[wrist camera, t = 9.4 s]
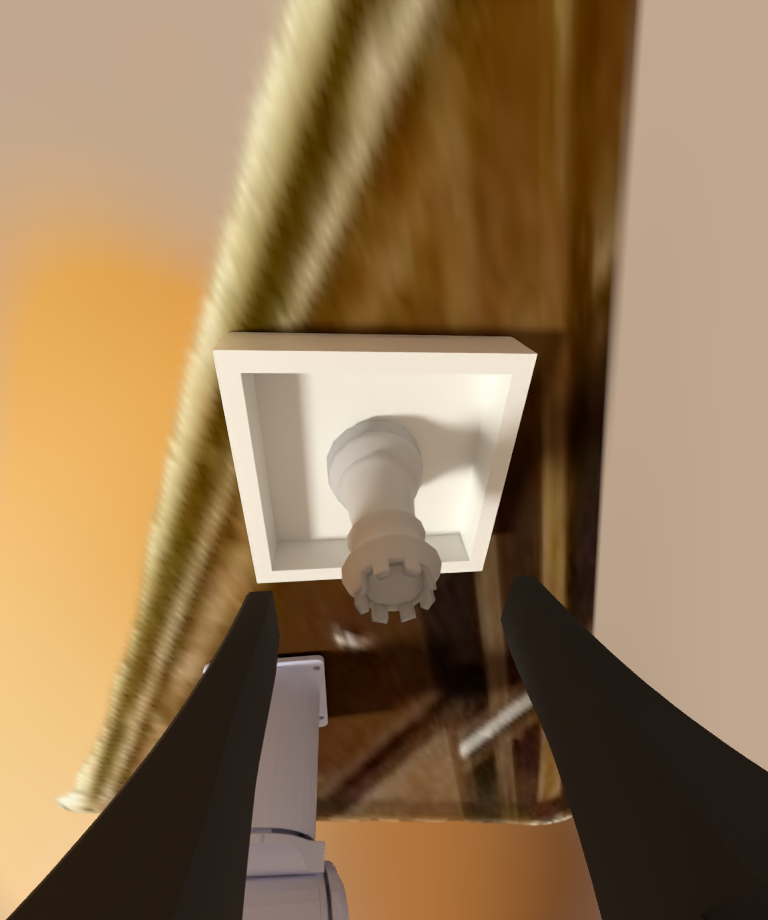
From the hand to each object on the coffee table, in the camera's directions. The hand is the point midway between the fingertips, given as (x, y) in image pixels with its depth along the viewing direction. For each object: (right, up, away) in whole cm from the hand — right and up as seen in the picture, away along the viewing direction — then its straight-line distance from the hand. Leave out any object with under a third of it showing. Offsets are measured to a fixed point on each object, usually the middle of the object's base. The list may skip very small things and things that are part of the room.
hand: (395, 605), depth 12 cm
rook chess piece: (-1, +5, +7) cm, 8 cm away
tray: (-1, +5, +7) cm, 9 cm away
